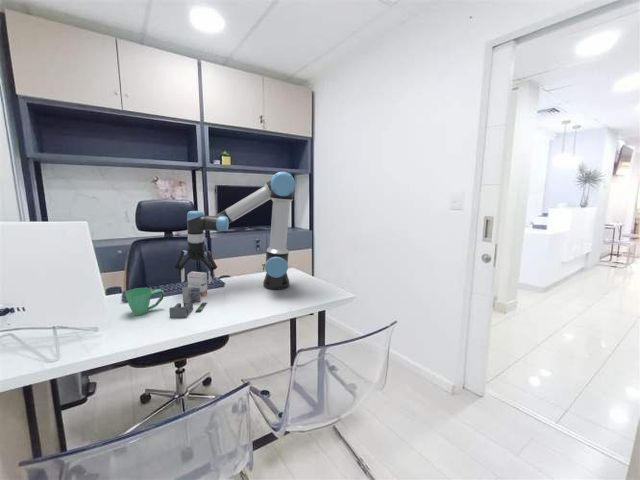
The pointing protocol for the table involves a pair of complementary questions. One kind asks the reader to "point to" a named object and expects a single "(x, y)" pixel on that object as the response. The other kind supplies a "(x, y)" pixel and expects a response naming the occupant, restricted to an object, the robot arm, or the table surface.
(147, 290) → the mug
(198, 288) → the white branched bar piece
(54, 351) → the table surface
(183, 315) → the gauge body
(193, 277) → the ink box
